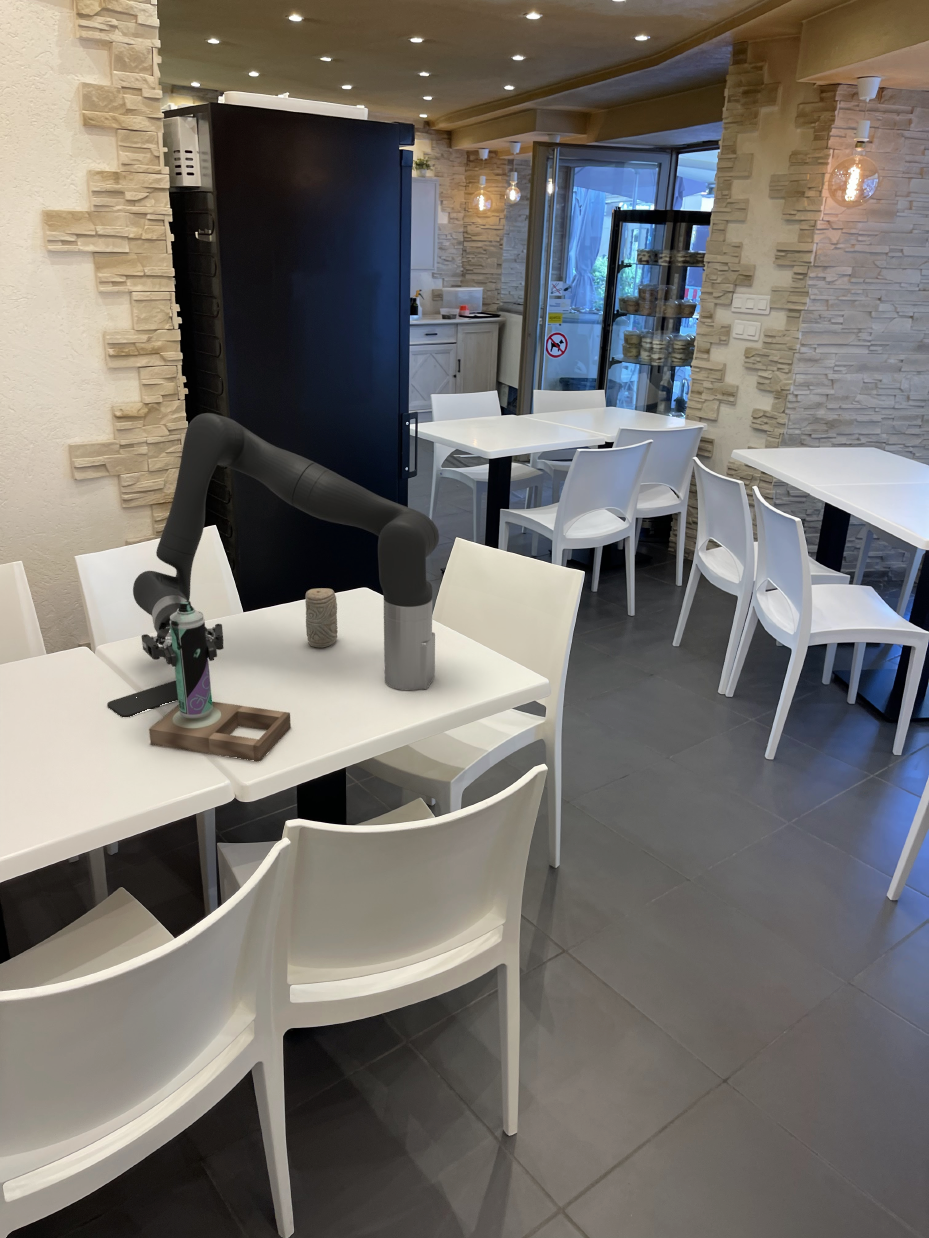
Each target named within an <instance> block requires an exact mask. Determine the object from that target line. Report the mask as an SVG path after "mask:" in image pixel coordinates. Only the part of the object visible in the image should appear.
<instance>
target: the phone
mask: <svg viewBox="0 0 929 1238" xmlns="http://www.w3.org/2000/svg"><path fill="white" fill-rule="evenodd" d="M136 697H137V698H136ZM176 700H178V693H177V684H176V679H175V680H172V681H169V682H165V683H163V684H160V685H156V686H153V687H151V688H150V687H149V688H147V689H145V690H140V691H138V692H135V693H131V694H128V695H125V696H122V697H119V698H116V699H113V700H110V701H107V704H106V706H107V708H108V709H109V708H110V709H109V710H111V709H112V710H113V711H114V712H113V711H112V710H111V711H112V712H113V713H115V714H116V713H117V714H116V715H118V716H119V715H120V716H119V717H121V718H123V717H129V718H131V717H130V716H132V717H134V716H133V715H135V714H137V713H140V712H142V711H145V710H147V709H153V710H155V709H158V708H161V707H160V705H162V704H165V703H169V702H172V701H175V702H177V701H176ZM172 703H173V702H172ZM169 704H170V703H169ZM135 716H136V715H135Z"/></svg>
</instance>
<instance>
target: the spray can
mask: <svg viewBox="0 0 929 1238" xmlns="http://www.w3.org/2000/svg"><path fill="white" fill-rule="evenodd" d="M205 623H206V621H205V617H204V613H203V612H201V611H200V610H196V608H195V607H193V606H192V602H191V601H190V600H189V601H186V602H183V603H180V607H179V609H177V612H176V613H174V614H172V615H171V616H170V629H171V638H172V648H173V650H174V652H175V655H176V662H177V666H175V667H174V673H175V680H176V684H177V693H178V701H177V702H178V704H179V711H180V714H181V715H182V716H183V717H186V718H200V717H204V716H206V715H208V714H210V713H211V712H212V710H213V708H212V707H213V706H212V701H213V697H212V687H211V677H210V676H211V675H210V667H209V665H210V664H209V658H208V653H207V642H206V631H205V627H206V624H205Z"/></svg>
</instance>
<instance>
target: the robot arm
mask: <svg viewBox="0 0 929 1238" xmlns="http://www.w3.org/2000/svg"><path fill="white" fill-rule="evenodd" d="M217 466H223V467H226V468H229V469H232V470H234V471H237V472H240V473H242V474H244V475H247V476H250V477H251V478H254V479H256V480H257V481H259V482H260V483H261V484H263V485H264V486H265V487H266V488H268V489H269V490H270V491H271V492H272V493H274V494H275V495H276V496H278V497H279V498H280V499H281V500H283V501H284V502H285V503H287V504H289V505H290V506H292V507H294V508H297V510H299V511H302V512H303V513H306V514H307V515H310V516H312V517H314V518H317V519H319V520H323V521H327V522H330V523H335V524H342V525H345V526H351V527H356V528H360V529H362V530H365V531H368V532H369V533H372V534H373V535H376V536H377V537H378V542H377V558H378V578H379V584H380V587H381V590H382V593H383V644H384V645H383V650H384V652H383V655H384V656H383V657H384V668H383V669H384V670H383V671H384V683H385V684H386V685H387V686H388V687H390V688H392V689H395V690H399V691H401V690H402V691H415V690H427V689H428V688H429V686H430V684H431V683H432V682H433V680H434V678H435V677H436V675H435V674H436V673H435V671H436V668H435V667H436V632H434V631H433V585H432V584H431V582H430V581H429V580H427V565H426V564H427V560H426V558H427V557H429V556H430V555H431V554H432V553H433V552H434V551H435V550H436V548H437V546H438V544H439V541H440V534H439V530H438V527H437V526H436V524H435V522H434V521H433V520H432V518H430V517H429V516H428V515H426V514H425V513H422V512H421V511H419V510H416V509H414V508H411V507H408V506H405V505H402V504H400V503H397V502H394V501H392V500H389V499H387V498H385V497H382V496H380V495H378V494H376V493H374V492H372V491H370V490H368V489H367V488H365V487H363V486H361V485H359V484H357V483H355V482H353V481H351V480H349V479H348V478H346V477H343V476H342V475H340V474H338V473H337V472H335V471H333V470H330V469H329V468H327V467H325V466H323V465H321V464H319V463H317V462H315V461H313V460H311V459H308V458H306V457H304V456H302V455H298V454H296V453H294V452H291V451H289V450H286V449H283V448H280V447H277V446H276V445H273V444H271V443H270V442H267V441H266V440H264V439H263V438H261V437H260V436H258V435H257V434H255V433H253V432H252V431H250V430H249V429H247V427H244V426H243V425H241V424H240V423H239V422H237V421H235V420H234V419H232V418H229V417H227V416H223V415H219V414H216V413H211V412H206V413H200V414H198V415H196V416H195V417H194V418H192V420H191V421H190V423H188V426H187V428H186V432H185V435H184V439H183V447H182V452H181V457H180V463H179V469H178V473H177V480H176V483H175V484H176V485H175V488H174V494H173V497H172V501H171V506H170V510H169V514H167V515H168V516H167V519H166V521H165V525H164V528H163V530H162V532H161V535H160V536H161V537H160V539H159V542H158V545H157V548H156V551H155V553H156V557H157V558H158V560H159V561H161V562H163V563H165V564H167V565H169V566H171V567H172V568H174V569H175V571H176V573H175V575H174V576H173V575H169V574H166V573H162V572H160V571H159V572H158V571H154V570H145V571H144V572H143V571H142V572H141V573H140V574H139V575H138V576H137V577H136V578H135V579H134V582H133V586H132V595H133V599H134V601H135V603H136V604H137V605H138V607H139V608H140V609H142V610H143V611H144V612H146V613H147V614H148V615H150V616H151V619H152V625H153V628H154V630H155V632H156V636H152V635H151V636H150V634H141V645H142V650H143V652H145V653H146V655H148V656H149V657H150V658H151V659H152V660H154V661H158V660H160V659H161V658H163V659H164V660H165V662H166V665H168V666H172V668H175V666H177V662H176V655H175V652H174V650H173V648H172V638H171V629H170V616H171V615H172V614H174V613H176V612H177V609H179V607H180V603H183V602H186V601H190V597H191V583H192V582H191V580H192V579H191V577H192V571H193V563H194V559H195V557H196V553H197V550H198V547H199V545H200V542H201V539H202V536H203V532H204V529H205V522H206V500H207V493H208V488H209V485H210V482H211V479H212V476H213V474H214V472H215V470H216V468H217ZM223 630H224V629H223V624H222V623H217V624H215V625H214V626H212V628H208V627H206V626H205V631H206V642H207V653H208V661H209V662H214V661H215V658H217V657H218V651H220V650H224V647H225V646H224V631H223Z"/></svg>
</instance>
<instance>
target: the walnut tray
mask: <svg viewBox="0 0 929 1238" xmlns="http://www.w3.org/2000/svg"><path fill="white" fill-rule="evenodd" d="M212 706H213V707H212V708H213V710H212V712H211V713H210V714H208V715H206V716H204V717H200V718H186V717H183V716H182V715H181V714H180V711H179V703H178V704H177V705H176V706H175V707H173V708H172V709H171V710H170V711H169V712H168V713H167V714H165V715H164V716H163V717H161V719H159V720H158V721H156V723H155V724H153V725H152V726H151V727H150V728H148V731H149V732H148V733H149V740H150V746H158V747H164V748H169V749H175V750H183V751H186V752H187V751H188V752H194V753H201V754H208V755H215V756H219V755H221V757H225V756H229V757H228V758H231V757H237V758H236V759H238V758H241V759H240V760H244V759H246V761H250V760H254V761H253V762H257V761H260V762H261V761H262V760H263V759H264V758H265V757H267V755H268V754H269V753H270V752H271V750H272V749H273V748H274V747H275V746H276V745H277V744H278V743H279V742H280V741H281V739H283V737H284V736H285V735H286V734H287V732H289V731H290V729H291V728H292V726H291V712H287V711H280V710H275V709H274V710H273V709H268V708H267V709H266V708H259V707H253V706H247V705H239V704H234V703H226V702H225V703H224V702H219V701H213V700H212ZM238 727H241V728H248V729H254V730H255V729H256V730H261V731H264V733H263V734H262V735H261V736H260V737H259V738H253V737H245V736H239V735H233V732H234V731H235V730H236V729H238ZM268 752H269V753H268ZM267 753H268V754H267ZM266 754H267V755H266ZM247 759H248V760H247Z"/></svg>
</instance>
